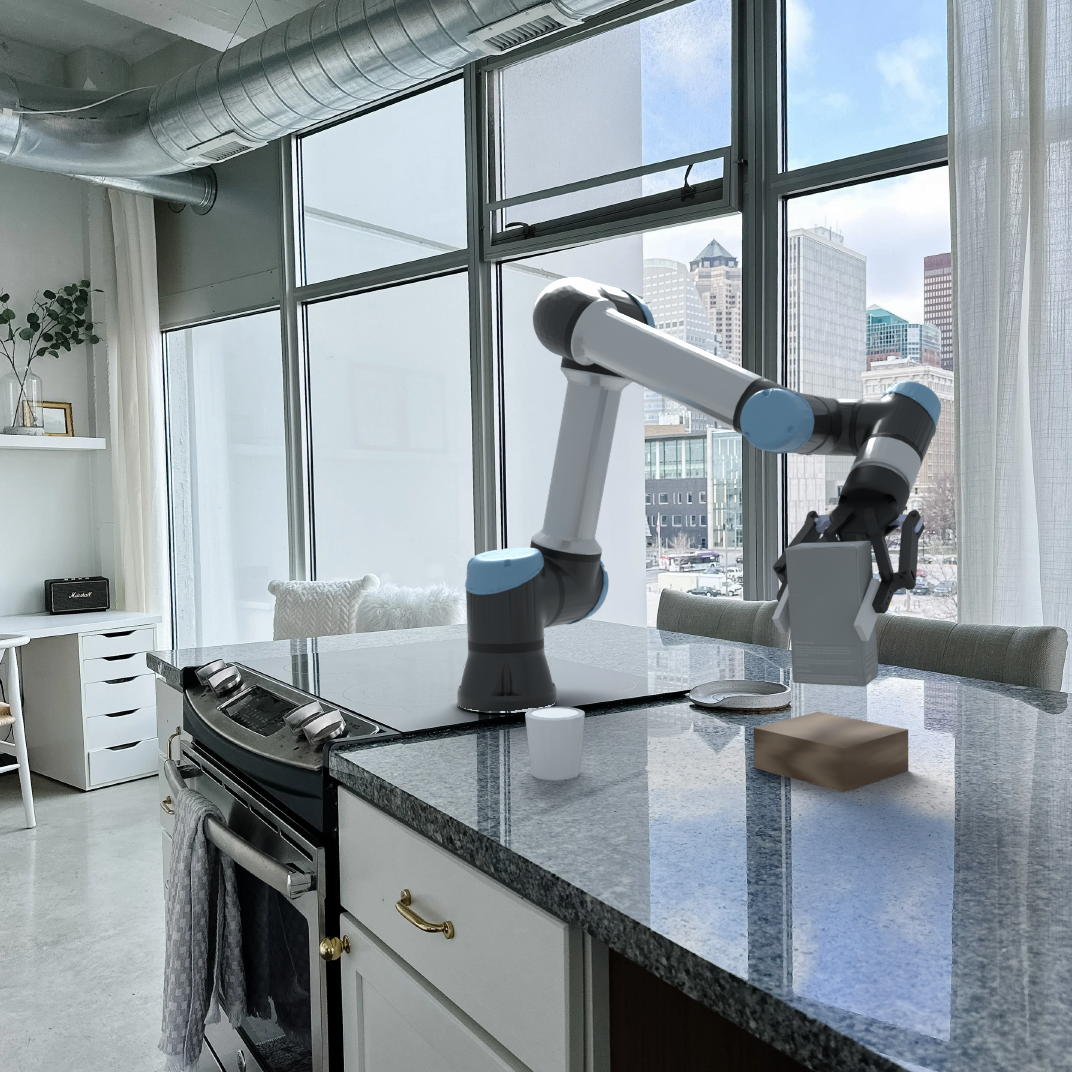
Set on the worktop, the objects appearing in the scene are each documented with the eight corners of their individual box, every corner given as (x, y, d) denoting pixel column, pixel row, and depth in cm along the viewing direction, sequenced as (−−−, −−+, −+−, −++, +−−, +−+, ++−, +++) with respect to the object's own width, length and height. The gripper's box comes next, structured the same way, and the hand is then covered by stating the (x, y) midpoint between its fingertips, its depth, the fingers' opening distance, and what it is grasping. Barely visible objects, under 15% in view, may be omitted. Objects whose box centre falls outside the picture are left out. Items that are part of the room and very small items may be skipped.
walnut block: (754, 770, 109) (753, 727, 109) (818, 752, 116) (818, 711, 116) (844, 795, 100) (844, 748, 99) (908, 773, 107) (908, 729, 107)
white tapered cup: (581, 783, 105) (580, 720, 104) (520, 780, 106) (518, 718, 106) (590, 765, 111) (589, 706, 111) (532, 763, 113) (531, 704, 112)
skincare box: (879, 679, 108) (878, 540, 108) (863, 690, 102) (862, 543, 102) (804, 673, 113) (803, 539, 112) (785, 684, 107) (784, 543, 106)
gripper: (980, 504, 110) (927, 660, 99) (807, 506, 125) (745, 641, 114) (963, 457, 106) (906, 614, 95) (787, 465, 121) (720, 602, 110)
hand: (818, 629), depth 105 cm, fingers closed on skincare box, 9 cm apart
